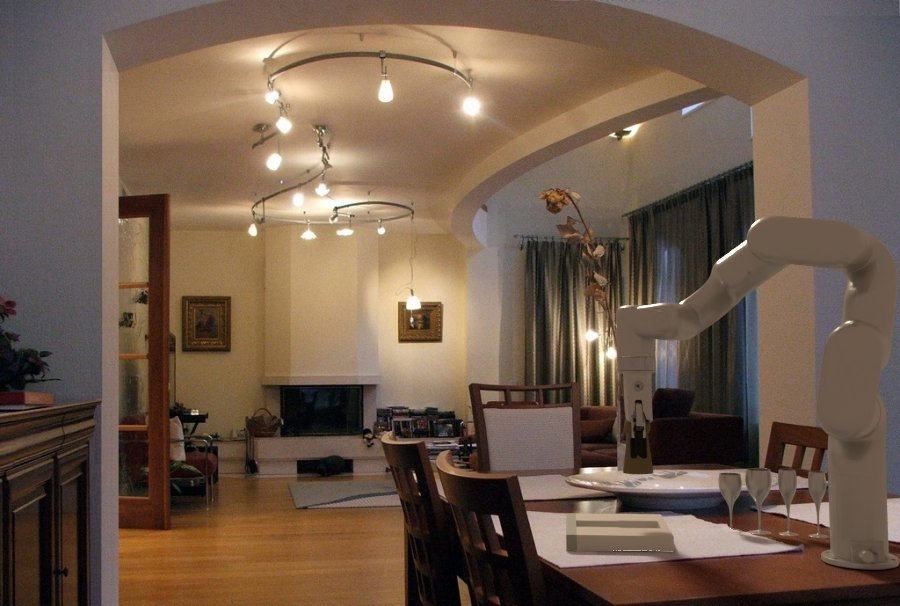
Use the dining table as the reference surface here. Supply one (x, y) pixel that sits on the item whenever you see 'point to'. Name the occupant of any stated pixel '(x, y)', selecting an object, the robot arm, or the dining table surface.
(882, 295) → the robot arm
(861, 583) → the dining table surface
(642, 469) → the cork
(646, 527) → the beige flat rimmed tray
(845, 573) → the dining table surface
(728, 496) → the goblet set
